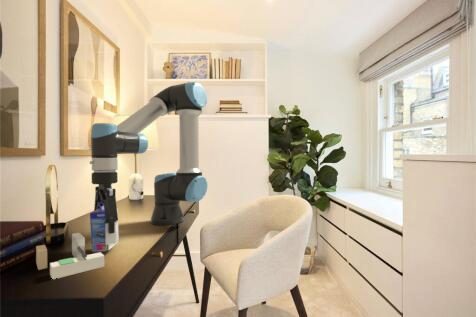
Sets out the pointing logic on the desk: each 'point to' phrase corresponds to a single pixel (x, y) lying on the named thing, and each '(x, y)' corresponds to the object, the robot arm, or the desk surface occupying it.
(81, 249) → the block
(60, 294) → the desk surface
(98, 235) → the ink cartridge box
